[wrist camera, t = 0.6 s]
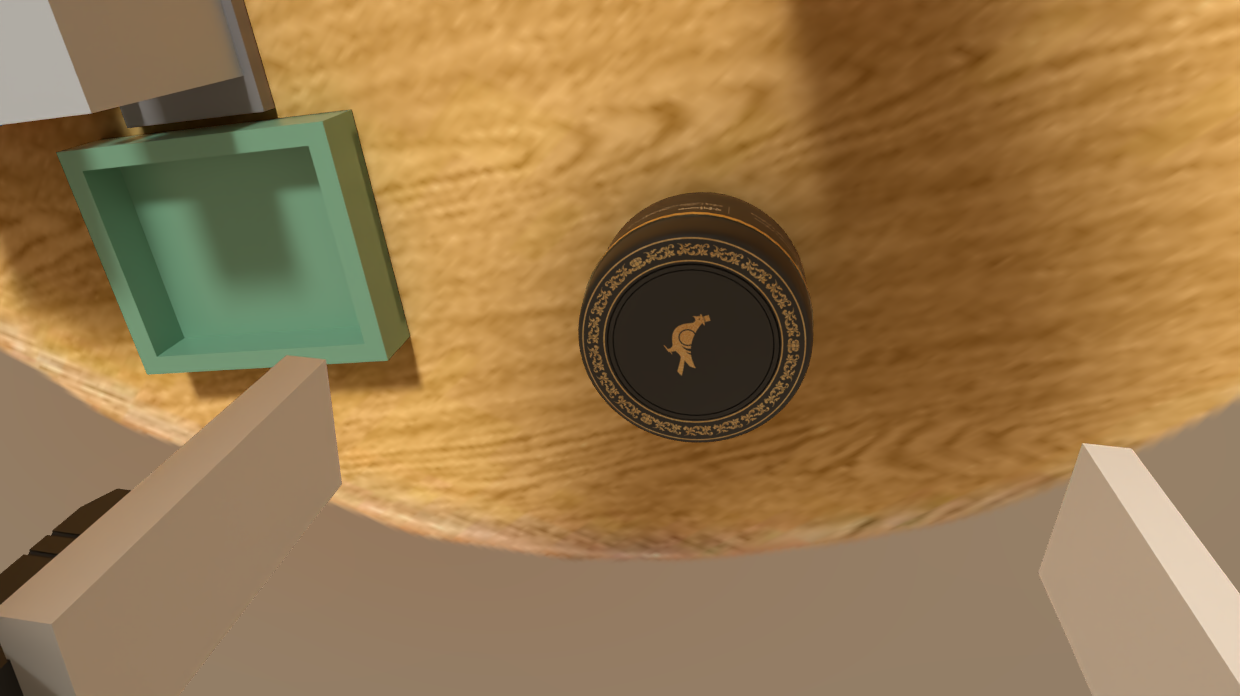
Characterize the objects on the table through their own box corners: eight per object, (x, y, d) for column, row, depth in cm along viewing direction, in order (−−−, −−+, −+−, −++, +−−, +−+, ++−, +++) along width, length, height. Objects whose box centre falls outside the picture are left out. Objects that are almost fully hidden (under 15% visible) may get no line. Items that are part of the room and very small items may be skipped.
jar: (616, 374, 44) (591, 452, 37) (589, 189, 40) (555, 239, 33) (809, 365, 42) (819, 445, 36) (802, 170, 38) (811, 218, 31)
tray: (100, 139, 43) (56, 152, 40) (351, 109, 40) (322, 121, 37) (181, 350, 48) (147, 374, 45) (409, 336, 45) (387, 360, 42)
